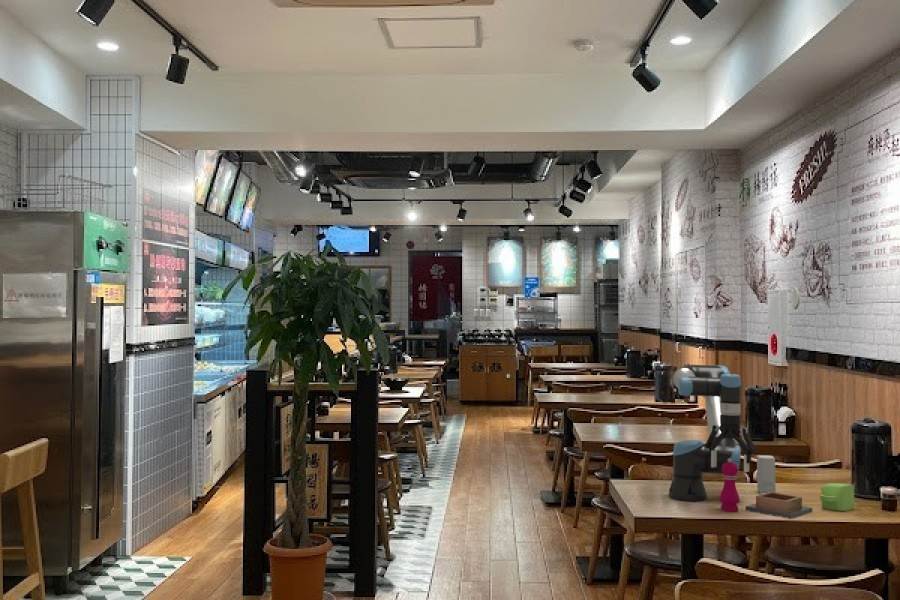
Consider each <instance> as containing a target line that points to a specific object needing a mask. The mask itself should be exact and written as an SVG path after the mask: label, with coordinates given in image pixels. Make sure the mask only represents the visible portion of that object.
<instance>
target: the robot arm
mask: <svg viewBox="0 0 900 600" xmlns="http://www.w3.org/2000/svg"><path fill="white" fill-rule="evenodd" d="M741 379H742V378H741V376H740V374H735V373H733V374H732V373H730V371H729V368H728V367H727V366H725V365H719V364H715V365H709V364H708V365H707V364H688V365H684V366H683V365H682V366H680V367H678V368H677V369H676V370H674V373H673V374H672V382H673V384H674V386H675V387H676V388H677V389H678V390H677V391H678V394H679V396H685V397H703V398H704V403H705V411H706V420H707V430H708V438H707V440H706V442H705V443H704V442H703V440H699V439H690V440H688V439H687V440H681V441H678V442H676V443H674V444H673V445H674V446H673V452H672V456H673V462H672V466H673V468H672V472H673V473H672V475H673V476H672V481H671V483H670V487H669V490H668V497H669V498H670V499H672V500H677V501H683V502H684V501H685V502H704V501H706V500H707V498H708V493H707V491H706V490H707V489H706V486H705V484H704V481H703V474H721V475H722V474H723V475H724V473H723V472H722V465H723V464H724V463H726V462H728V461H727V460H728V459H729V458H731V459H732V463H735V464H736V465H737V467H738V471H739V469H740V465H741V457H742V455H741V451H743V452H744V453H745V454H743V472H744V473H748V472H750V464H751V463H752V455H753V454H756V453H757V450H756V447H755V445H754V443H753V440H752V438H751V436H750V432H749V431H750V430H749V428H748V427H744V428H741V415H740V414H741V413H742V411H741V407H742V406H741V391H742V388H741V386H742V382H741V381H742V380H741ZM741 434H742V435H743V436H742V435H741ZM744 440H745V441H744ZM736 442H737V444H736Z"/></svg>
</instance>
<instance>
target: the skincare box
mask: <svg viewBox="0 0 900 600" xmlns="http://www.w3.org/2000/svg"><path fill="white" fill-rule="evenodd" d="M756 473H757V479H756V481H757V485H756V486H757V490H758V491H759V492H760V493H765V494H766V493H769V492H774V493H777V488H776V458H775V457H774V456H773V455H762V454H761V455H760V454H759V455H756ZM758 491H757V492H758ZM759 492H758V493H759ZM760 493H759V494H760Z"/></svg>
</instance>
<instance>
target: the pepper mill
mask: <svg viewBox="0 0 900 600" xmlns="http://www.w3.org/2000/svg"><path fill="white" fill-rule="evenodd" d="M727 461H728V462H726V463H724V464H723V465H722V472H723V473H724V474H723V475H722V476H723V477H722V478H723V481H724V482H723V487H722V490H721V492H720V495H719V501H720V502H721V505H720V510H721V511H723V510H724V511H723V512H726V511H728V513H736V512H738V511H739V505H738V504H739V502H740V496H739V495H740V494H739V492H738V491H737V487H736V481H737V474H738V473H739V470H738V467H737V465H736V464H735V463H732V459H731V458H729V459H728V460H727Z"/></svg>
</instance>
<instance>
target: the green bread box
mask: <svg viewBox="0 0 900 600" xmlns="http://www.w3.org/2000/svg"><path fill="white" fill-rule="evenodd" d="M820 487H821V489H820V491H821V495H819V500H820V501H821V508H822V509H827V510H831V511H838V512H846V511H850V510H853V509H855V487H854V484H849V483H837V482H830V483H826V484H823V485H821V486H820Z"/></svg>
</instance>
